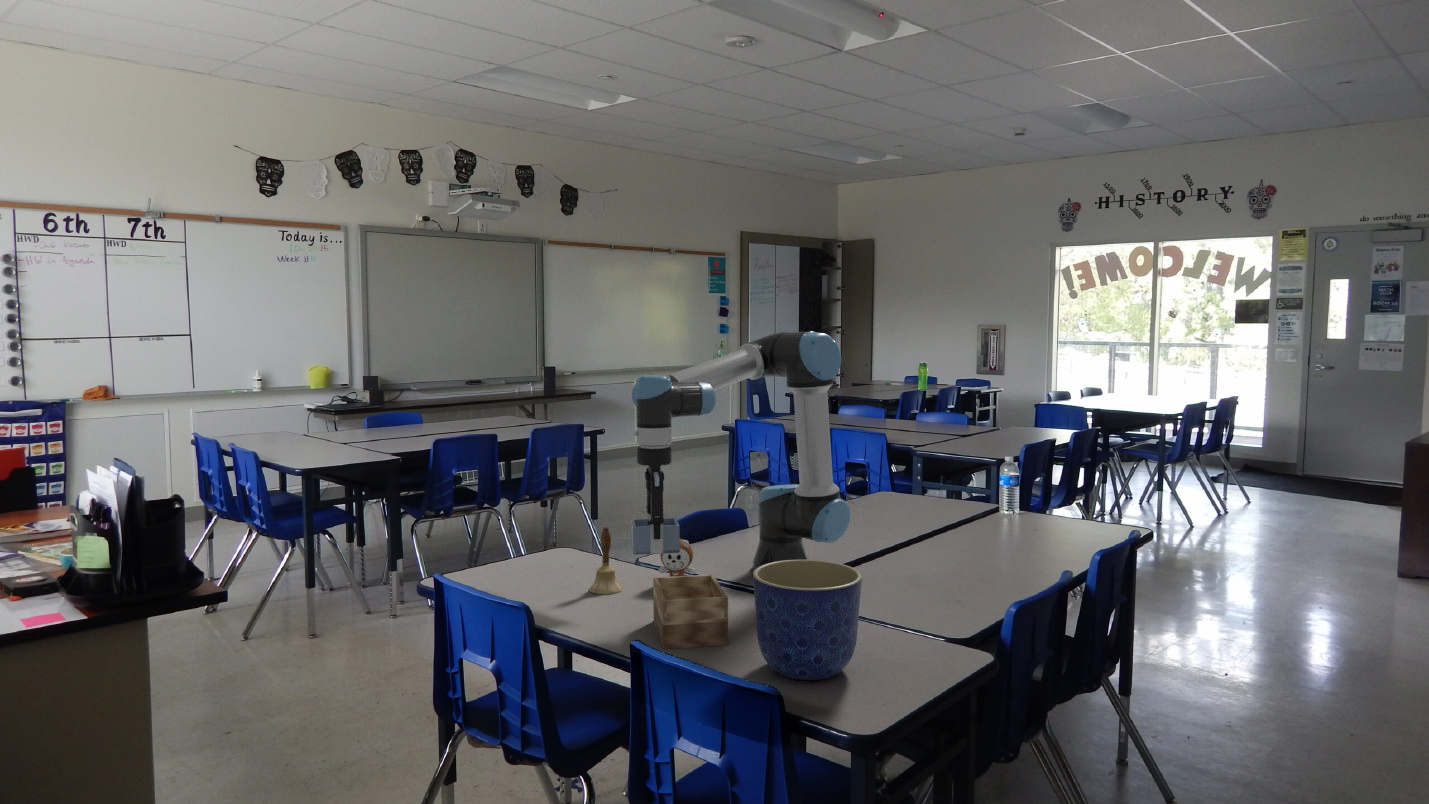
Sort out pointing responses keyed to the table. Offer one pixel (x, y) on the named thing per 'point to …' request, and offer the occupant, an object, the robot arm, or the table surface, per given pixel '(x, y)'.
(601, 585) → the hand bell
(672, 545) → the blue crate
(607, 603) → the table surface
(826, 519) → the robot arm
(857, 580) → the planter
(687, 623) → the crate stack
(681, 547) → the figurine
